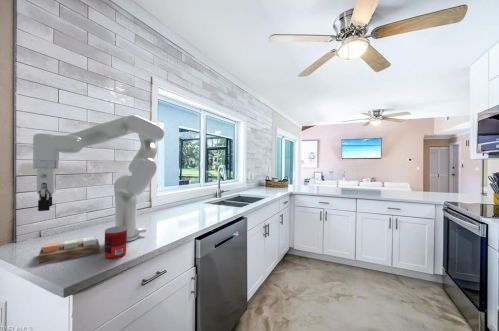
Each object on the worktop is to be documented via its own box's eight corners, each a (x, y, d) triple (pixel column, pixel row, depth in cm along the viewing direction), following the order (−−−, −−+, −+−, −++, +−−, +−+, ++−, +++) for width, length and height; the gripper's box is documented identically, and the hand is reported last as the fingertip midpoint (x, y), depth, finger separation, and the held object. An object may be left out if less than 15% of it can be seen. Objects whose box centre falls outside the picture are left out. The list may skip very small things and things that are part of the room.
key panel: (97, 245, 104) (97, 238, 104) (99, 252, 96) (99, 245, 96) (41, 254, 93) (41, 247, 93) (38, 264, 84) (38, 256, 84)
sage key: (78, 246, 97) (78, 239, 97) (78, 249, 94) (78, 242, 94) (64, 248, 94) (64, 241, 94) (63, 251, 91) (63, 244, 91)
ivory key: (95, 243, 101) (95, 236, 101) (96, 246, 97) (96, 239, 97) (82, 245, 98) (82, 238, 98) (83, 248, 95) (83, 241, 95)
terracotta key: (59, 249, 93) (59, 241, 93) (58, 252, 90) (58, 245, 90) (44, 251, 91) (44, 244, 91) (42, 255, 87) (43, 247, 87)
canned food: (129, 251, 98) (130, 226, 98) (119, 259, 90) (120, 231, 90) (111, 251, 97) (112, 225, 97) (100, 259, 89) (100, 231, 89)
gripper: (56, 165, 85) (55, 211, 85) (60, 165, 99) (59, 204, 99) (28, 165, 80) (28, 213, 81) (36, 164, 94) (36, 205, 94)
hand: (45, 208), depth 90 cm, fingers open, 9 cm apart
